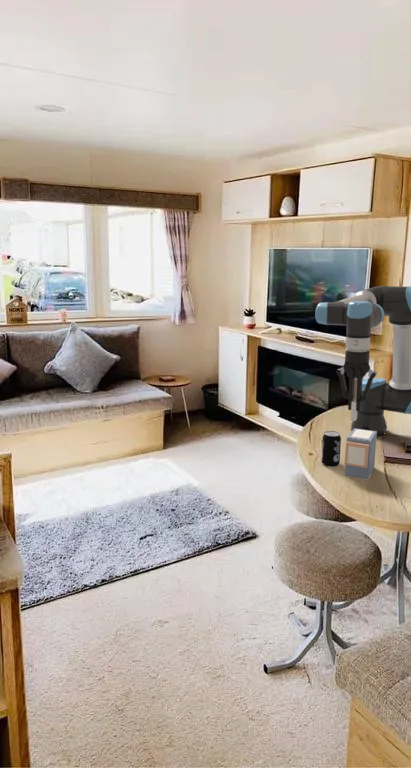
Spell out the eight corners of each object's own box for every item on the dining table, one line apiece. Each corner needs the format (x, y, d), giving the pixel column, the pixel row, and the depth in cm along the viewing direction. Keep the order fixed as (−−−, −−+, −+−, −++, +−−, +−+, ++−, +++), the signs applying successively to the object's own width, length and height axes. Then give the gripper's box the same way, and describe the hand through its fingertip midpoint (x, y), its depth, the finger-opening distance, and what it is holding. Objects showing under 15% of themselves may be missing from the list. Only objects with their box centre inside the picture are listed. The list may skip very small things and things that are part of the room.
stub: (346, 441, 193) (346, 442, 192) (369, 444, 189) (368, 445, 188) (345, 463, 194) (344, 464, 193) (367, 467, 191) (366, 468, 190)
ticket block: (352, 464, 207) (354, 428, 203) (374, 467, 203) (376, 431, 200) (344, 475, 196) (346, 437, 193) (367, 479, 193) (370, 441, 190)
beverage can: (329, 468, 203) (330, 437, 200) (317, 462, 209) (319, 432, 206) (343, 465, 206) (345, 434, 203) (331, 459, 212) (333, 429, 209)
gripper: (334, 350, 179) (331, 420, 185) (376, 353, 173) (371, 425, 179) (340, 346, 185) (336, 414, 191) (380, 349, 180) (375, 418, 186)
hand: (353, 419), depth 185 cm, fingers closed
